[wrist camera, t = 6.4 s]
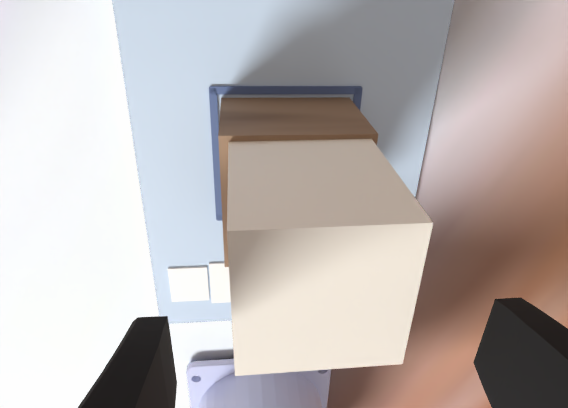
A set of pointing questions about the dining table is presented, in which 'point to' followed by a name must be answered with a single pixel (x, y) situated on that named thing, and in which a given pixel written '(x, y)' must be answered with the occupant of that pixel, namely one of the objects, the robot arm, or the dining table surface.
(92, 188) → the dining table surface
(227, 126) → the walnut base block
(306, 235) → the ivory block
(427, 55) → the board
